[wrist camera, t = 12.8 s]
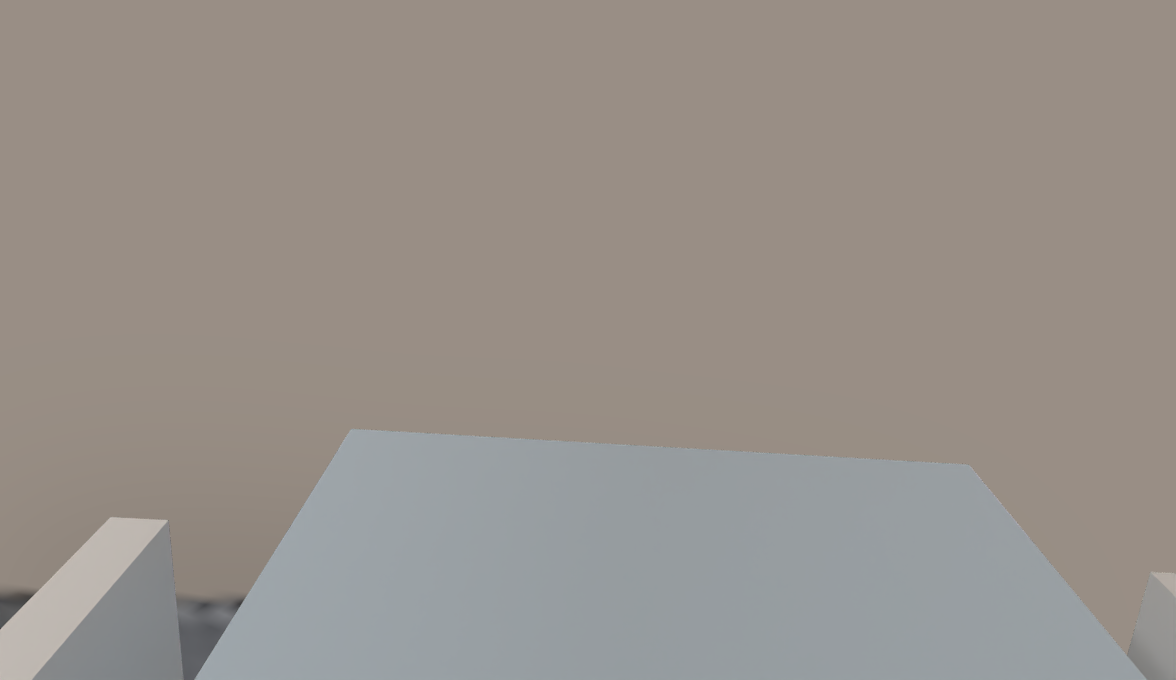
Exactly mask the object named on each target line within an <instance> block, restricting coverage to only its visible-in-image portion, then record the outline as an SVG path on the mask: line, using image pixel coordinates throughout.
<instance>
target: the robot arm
mask: <svg viewBox="0 0 1176 680" xmlns="http://www.w3.org/2000/svg"><path fill="white" fill-rule="evenodd" d="M1127 656H1128V657H1129V659H1130V660H1131V661H1132V662H1133V663H1134V665H1135V666H1136V667H1137V668H1138V669H1139V671H1140V672H1141V673H1142V674H1143V675H1144V677H1145V678H1146V679H1147V680H1176V573H1161V572H1150V575H1149V579H1148V583H1147V586H1146V590H1145V593H1144V597H1143V600H1142V605H1141V608H1140V611H1139V615H1138V619H1137V622H1136V626H1135V629H1134V633H1133V637H1132V641H1131V644H1130V648H1129V651H1128V655H1127ZM0 680H183V670H182V659H181V648H180V638H179V627H178V616H177V605H176V594H175V583H174V574H173V563H172V551H171V540H170V530H169V520H159V519H158V520H157V519H141V518H140V519H139V518H120V517H110V518H109V519H108V520H107V521H106V522H105V523H104V524H103V525H102V526H101V527H100V528H99V529H98V530H97V531H96V533H94V535H92V536H91V537H90V538H89V540H88V541H87V542H86V543H85V544H84V545H83V546H82V547H81V548H80V549H79V550H78V551H77V552H76V553H75V554H74V555H73V556H72V557H71V558H70V559H69V560H68V561H67V562H66V563H65V564H64V565H63V566H62V567H61V568H60V569H59V570H58V571H57V572H56V573H55V574H54V575H53V576H52V577H51V578H50V579H49V580H48V581H47V582H46V583H45V584H44V585H43V586H42V587H41V588H40V589H39V590H38V592H37V593H36V594H35V595H34V596H33V597H32V598H31V599H30V600H29V601H28V602H27V603H26V604H25V605H24V606H23V607H22V608H21V609H20V610H19V611H18V612H17V613H16V614H15V615H14V616H13V617H12V618H11V619H10V620H9V621H8V622H7V623H6V624H5V625H4V626H3V627H2V628H1V629H0Z"/></svg>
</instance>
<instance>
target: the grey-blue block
mask: <svg viewBox="0 0 1176 680" xmlns="http://www.w3.org/2000/svg"><path fill="white" fill-rule="evenodd" d="M195 680H1147V679H1146V678H1145V677H1144V675H1143V674H1142V673H1141V672H1140V671H1139V669H1138V668H1137V667H1136V666H1135V665H1134V663H1133V662H1132V661H1131V660H1130V659H1129V657H1128V656H1127V655H1126V654H1125V653H1124V652H1123V650H1122V649H1121V648H1120V647H1119V645H1118V644H1117V643H1116V642H1115V641H1114V639H1113V638H1112V637H1111V636H1110V634H1109V633H1108V632H1107V631H1106V630H1105V628H1104V627H1103V626H1102V625H1101V624H1100V622H1099V621H1098V620H1097V619H1096V618H1095V616H1094V615H1093V614H1092V613H1091V611H1090V610H1089V609H1088V608H1087V607H1086V606H1085V604H1084V603H1083V602H1082V601H1081V599H1080V598H1079V597H1078V596H1077V595H1076V593H1075V592H1074V591H1073V590H1072V589H1071V587H1070V586H1069V585H1068V584H1067V583H1066V582H1065V580H1064V579H1063V578H1062V576H1060V574H1059V573H1058V572H1057V570H1056V569H1055V568H1054V567H1053V566H1052V564H1051V563H1050V562H1049V561H1048V560H1047V558H1046V557H1045V556H1044V555H1043V554H1042V552H1041V551H1040V550H1039V549H1038V548H1037V546H1036V545H1035V544H1034V543H1033V542H1032V540H1031V539H1030V538H1029V537H1028V535H1027V534H1026V533H1025V532H1024V531H1023V529H1022V528H1021V527H1020V526H1019V525H1018V523H1017V522H1016V521H1015V520H1014V519H1013V517H1012V516H1011V515H1010V514H1009V513H1008V511H1007V510H1006V509H1005V508H1004V507H1003V505H1002V504H1001V503H1000V502H999V501H998V499H997V498H996V497H995V496H994V494H993V493H992V492H991V491H990V490H989V488H988V487H987V486H986V485H985V484H984V482H982V480H981V479H980V478H979V476H978V475H977V474H976V473H975V472H974V470H973V469H972V468H971V467H970V466H969V465H967V464H966V465H965V464H949V463H932V462H914V461H897V460H880V459H861V458H845V457H828V456H810V455H793V454H776V453H759V452H742V451H723V450H707V449H690V448H673V447H655V446H654V447H653V446H637V445H621V444H603V443H586V442H568V441H551V440H534V439H517V438H500V437H481V436H464V435H446V434H430V433H412V432H396V431H378V430H361V429H351V430H350V432H349V433H348V435H347V436H346V438H345V439H344V441H343V443H342V444H341V446H340V447H339V449H338V451H337V452H336V454H335V455H334V457H333V459H332V460H331V462H330V464H329V465H328V467H327V469H326V470H325V472H324V473H323V475H322V476H321V478H320V479H319V481H318V483H317V484H316V486H315V488H314V489H313V491H312V492H311V494H310V496H309V497H308V499H307V500H306V502H305V504H304V505H303V507H302V508H301V510H300V512H299V513H298V515H297V517H296V518H295V520H294V521H293V523H292V525H291V526H290V528H289V529H288V531H287V532H286V534H285V536H284V537H283V539H282V540H281V542H280V544H279V545H278V547H277V548H276V550H275V552H274V553H273V555H272V556H271V558H270V560H269V561H268V563H267V565H266V566H265V568H264V569H263V571H262V573H261V574H260V576H259V577H258V579H257V580H256V582H255V584H254V585H253V587H252V588H251V590H250V592H249V593H248V595H247V596H246V598H245V600H244V601H243V603H242V604H241V606H240V608H239V609H238V611H237V612H236V614H235V616H234V617H233V619H232V620H231V622H230V624H229V625H228V627H227V628H226V630H225V632H224V633H223V635H222V636H221V638H220V640H219V641H218V643H217V644H216V646H215V648H214V649H213V651H212V652H211V654H210V656H209V657H208V659H207V660H206V662H205V664H204V665H203V667H202V669H201V670H200V672H199V673H198V675H197V677H196V678H195Z"/></svg>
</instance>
